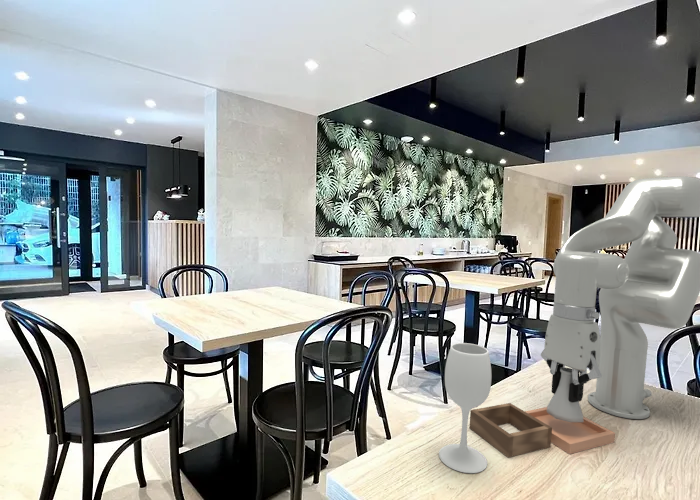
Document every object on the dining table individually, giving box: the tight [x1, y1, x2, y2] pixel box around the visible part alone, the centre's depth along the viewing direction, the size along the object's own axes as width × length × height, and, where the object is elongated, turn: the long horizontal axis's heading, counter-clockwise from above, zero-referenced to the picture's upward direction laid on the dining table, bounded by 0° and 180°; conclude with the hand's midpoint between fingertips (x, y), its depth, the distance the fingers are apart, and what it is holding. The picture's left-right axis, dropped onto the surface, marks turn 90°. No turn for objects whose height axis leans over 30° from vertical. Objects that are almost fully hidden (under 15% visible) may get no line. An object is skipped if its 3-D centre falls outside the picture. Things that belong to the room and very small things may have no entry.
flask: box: [546, 366, 584, 422], centre depth 82 cm, size 7×7×10 cm
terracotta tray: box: [524, 406, 616, 455], centre depth 83 cm, size 13×13×2 cm
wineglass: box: [438, 342, 492, 474], centre depth 71 cm, size 9×9×21 cm
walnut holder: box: [469, 402, 552, 459], centre depth 79 cm, size 11×11×4 cm
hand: (566, 396), depth 82 cm, fingers closed on flask, 3 cm apart
